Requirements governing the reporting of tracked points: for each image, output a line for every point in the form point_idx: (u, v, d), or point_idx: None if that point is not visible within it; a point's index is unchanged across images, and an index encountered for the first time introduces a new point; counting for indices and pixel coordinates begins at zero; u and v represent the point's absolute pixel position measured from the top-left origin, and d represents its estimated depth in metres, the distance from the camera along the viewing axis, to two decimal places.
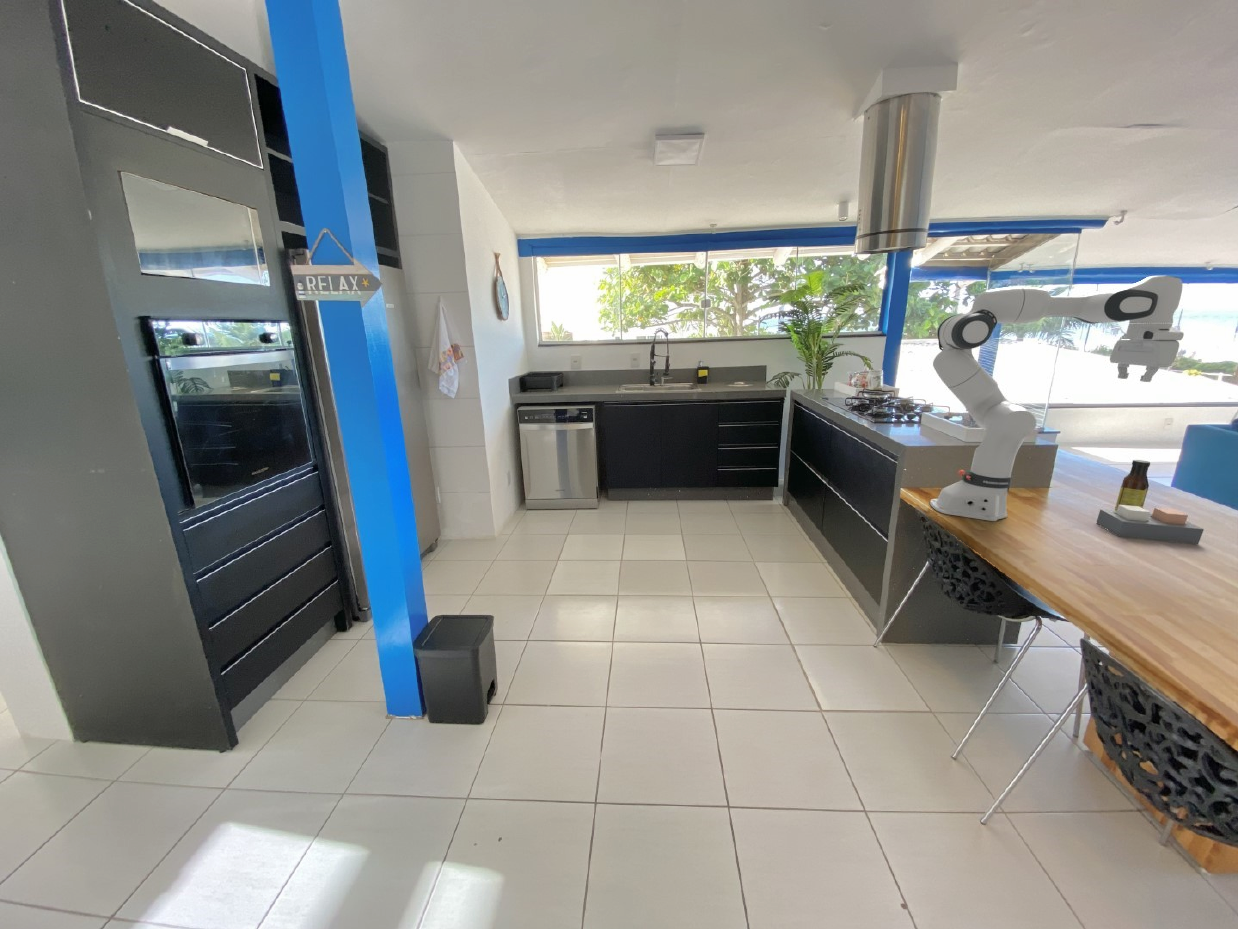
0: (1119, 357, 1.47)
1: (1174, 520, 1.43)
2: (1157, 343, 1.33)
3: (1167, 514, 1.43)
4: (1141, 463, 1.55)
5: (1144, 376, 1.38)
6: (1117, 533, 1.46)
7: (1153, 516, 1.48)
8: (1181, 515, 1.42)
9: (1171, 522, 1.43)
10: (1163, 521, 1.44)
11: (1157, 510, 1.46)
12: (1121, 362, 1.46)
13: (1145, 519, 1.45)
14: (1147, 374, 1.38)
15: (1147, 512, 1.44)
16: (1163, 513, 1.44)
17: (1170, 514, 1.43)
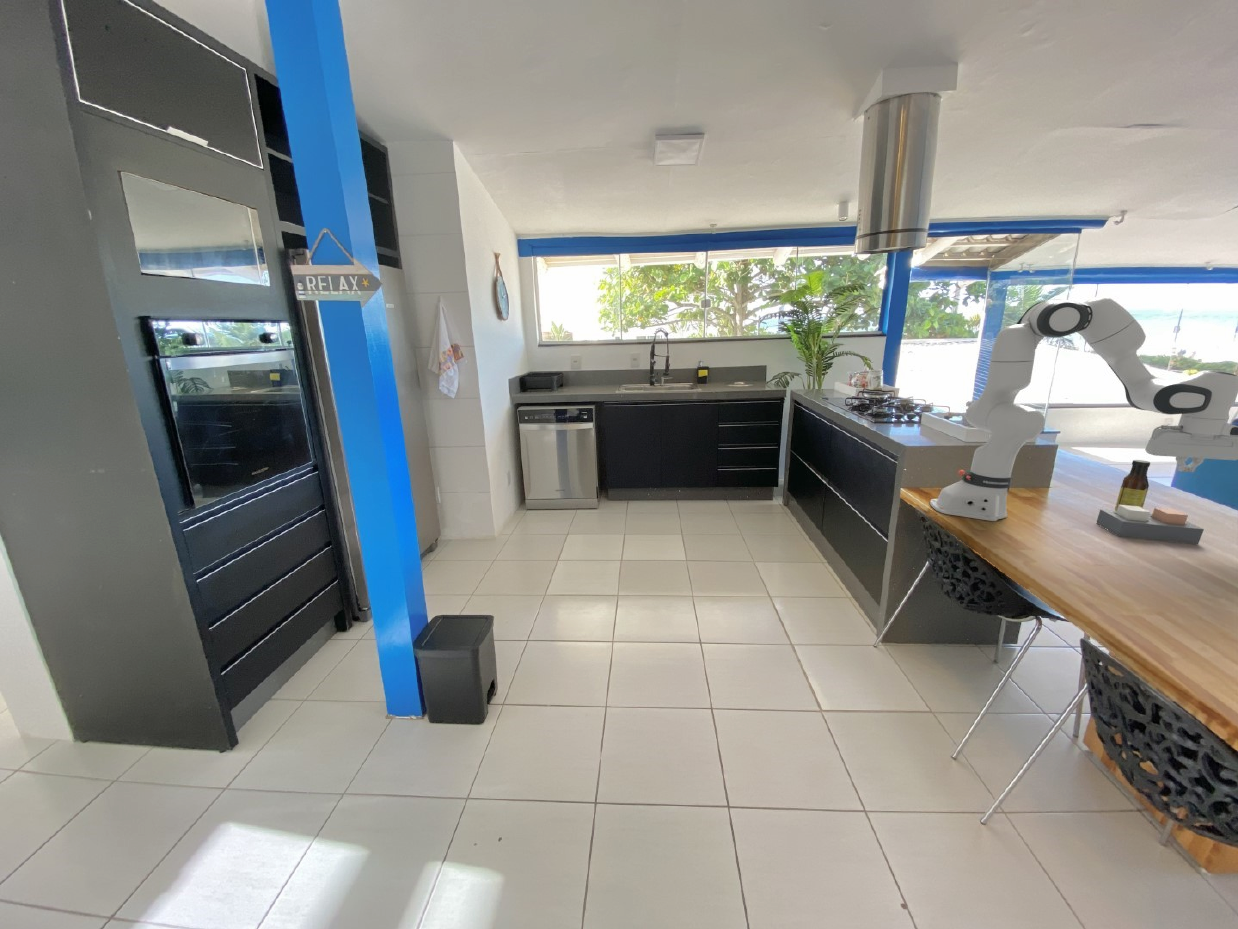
0: (1172, 451, 1.39)
1: (1174, 520, 1.43)
2: None
3: (1167, 514, 1.43)
4: (1141, 463, 1.55)
5: (1194, 467, 1.39)
6: (1117, 533, 1.46)
7: (1153, 516, 1.48)
8: (1181, 515, 1.42)
9: (1171, 522, 1.43)
10: (1163, 521, 1.44)
11: (1157, 510, 1.46)
12: (1177, 455, 1.39)
13: (1145, 519, 1.45)
14: None
15: (1147, 512, 1.44)
16: (1163, 513, 1.44)
17: (1170, 514, 1.43)
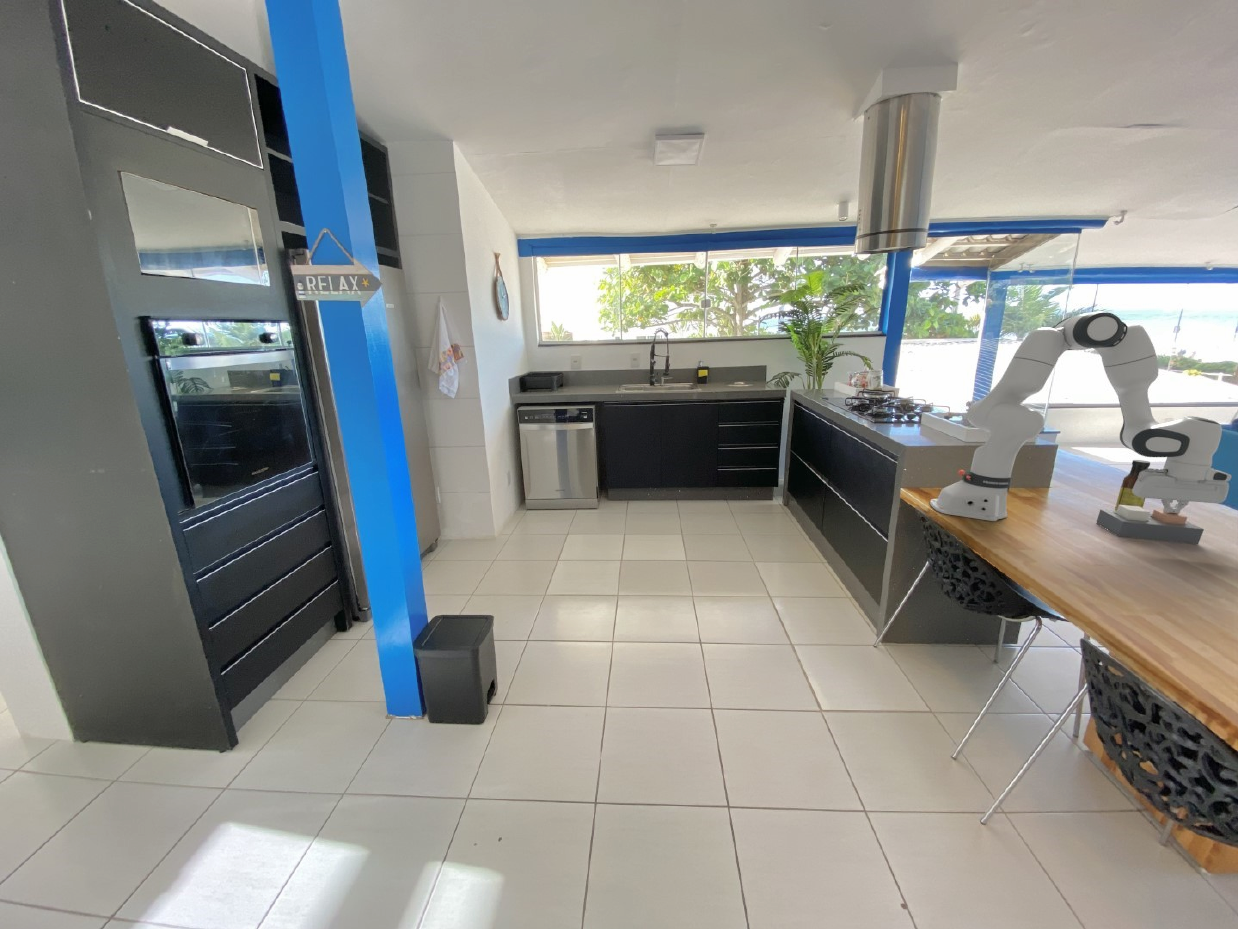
0: (1158, 493, 1.43)
1: (1173, 522, 1.43)
2: (1227, 483, 1.37)
3: (1166, 516, 1.43)
4: (1141, 463, 1.55)
5: (1179, 509, 1.43)
6: (1117, 533, 1.46)
7: None
8: (1180, 517, 1.42)
9: None
10: None
11: (1156, 512, 1.47)
12: (1162, 498, 1.43)
13: (1145, 519, 1.45)
14: None
15: (1147, 512, 1.44)
16: (1162, 515, 1.44)
17: (1169, 516, 1.43)
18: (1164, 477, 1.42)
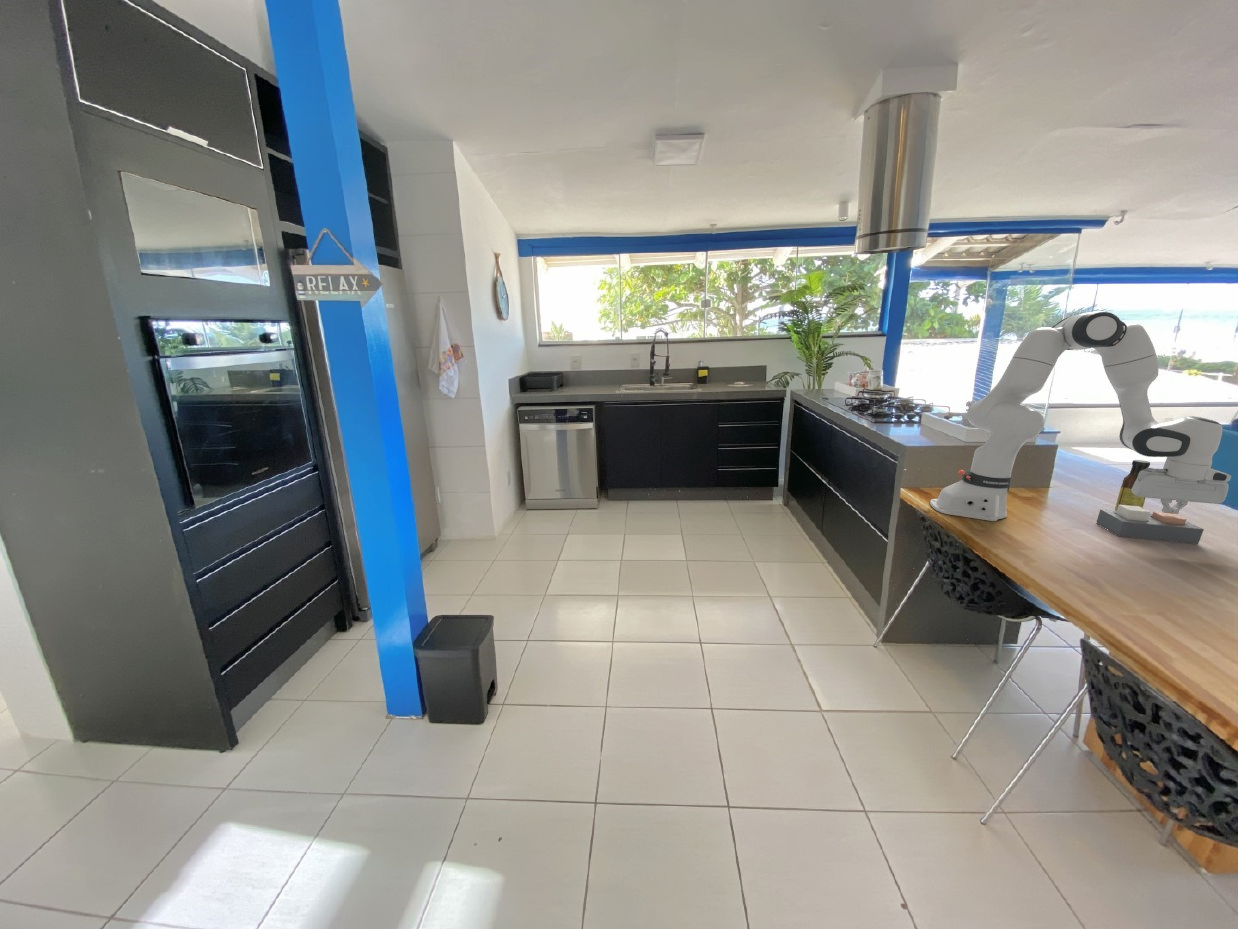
0: (1157, 493, 1.43)
1: None
2: (1227, 484, 1.37)
3: (1166, 518, 1.43)
4: (1141, 463, 1.55)
5: (1178, 509, 1.43)
6: (1117, 533, 1.46)
7: None
8: (1179, 519, 1.42)
9: None
10: None
11: (1155, 514, 1.47)
12: (1161, 498, 1.43)
13: (1145, 519, 1.45)
14: None
15: (1147, 512, 1.44)
16: (1162, 517, 1.45)
17: (1169, 518, 1.43)
18: (1164, 477, 1.41)
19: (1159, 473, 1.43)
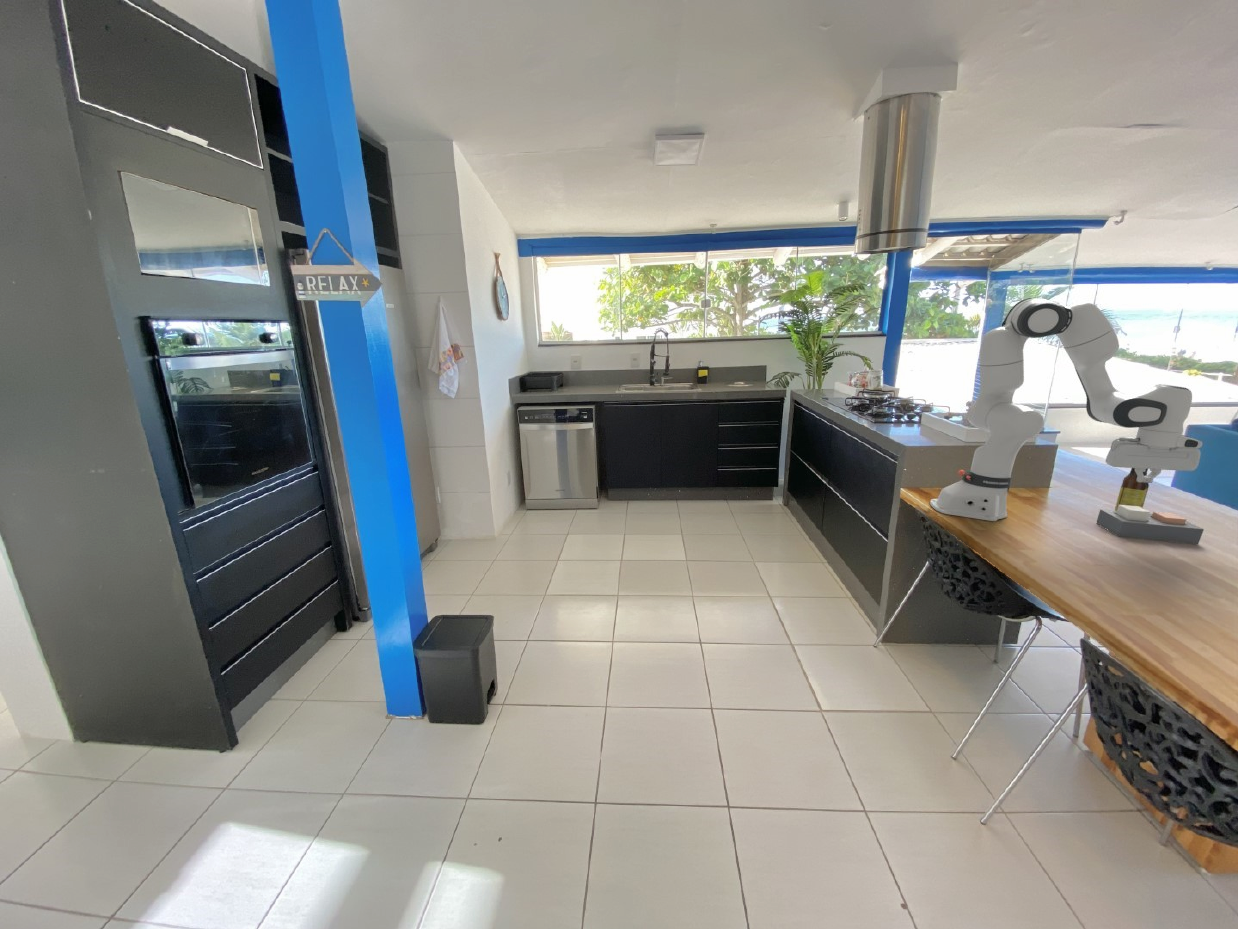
0: (1131, 462, 1.43)
1: None
2: (1199, 450, 1.37)
3: (1166, 518, 1.43)
4: None
5: (1152, 478, 1.43)
6: (1117, 533, 1.46)
7: None
8: (1179, 519, 1.42)
9: None
10: None
11: (1155, 514, 1.47)
12: (1135, 467, 1.43)
13: (1145, 519, 1.45)
14: None
15: (1147, 512, 1.44)
16: (1162, 517, 1.45)
17: (1169, 518, 1.43)
18: (1136, 446, 1.41)
19: (1132, 442, 1.43)
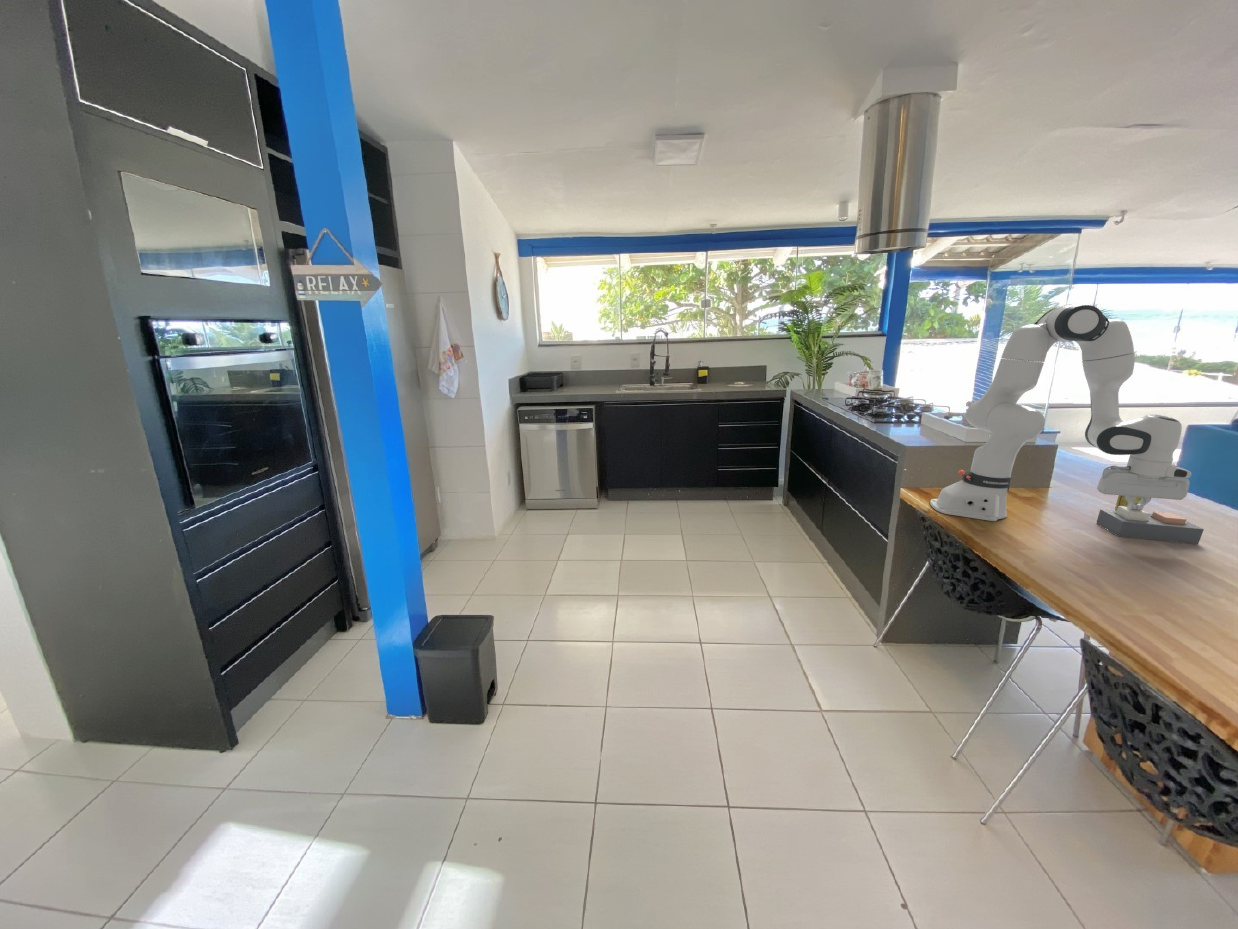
0: (1121, 490, 1.45)
1: None
2: (1188, 480, 1.39)
3: (1166, 518, 1.43)
4: None
5: (1142, 506, 1.46)
6: (1117, 533, 1.46)
7: None
8: (1179, 519, 1.42)
9: None
10: None
11: (1155, 514, 1.47)
12: (1125, 495, 1.46)
13: (1145, 520, 1.45)
14: None
15: (1147, 513, 1.45)
16: (1162, 517, 1.45)
17: (1169, 518, 1.43)
18: (1127, 474, 1.44)
19: (1123, 470, 1.45)
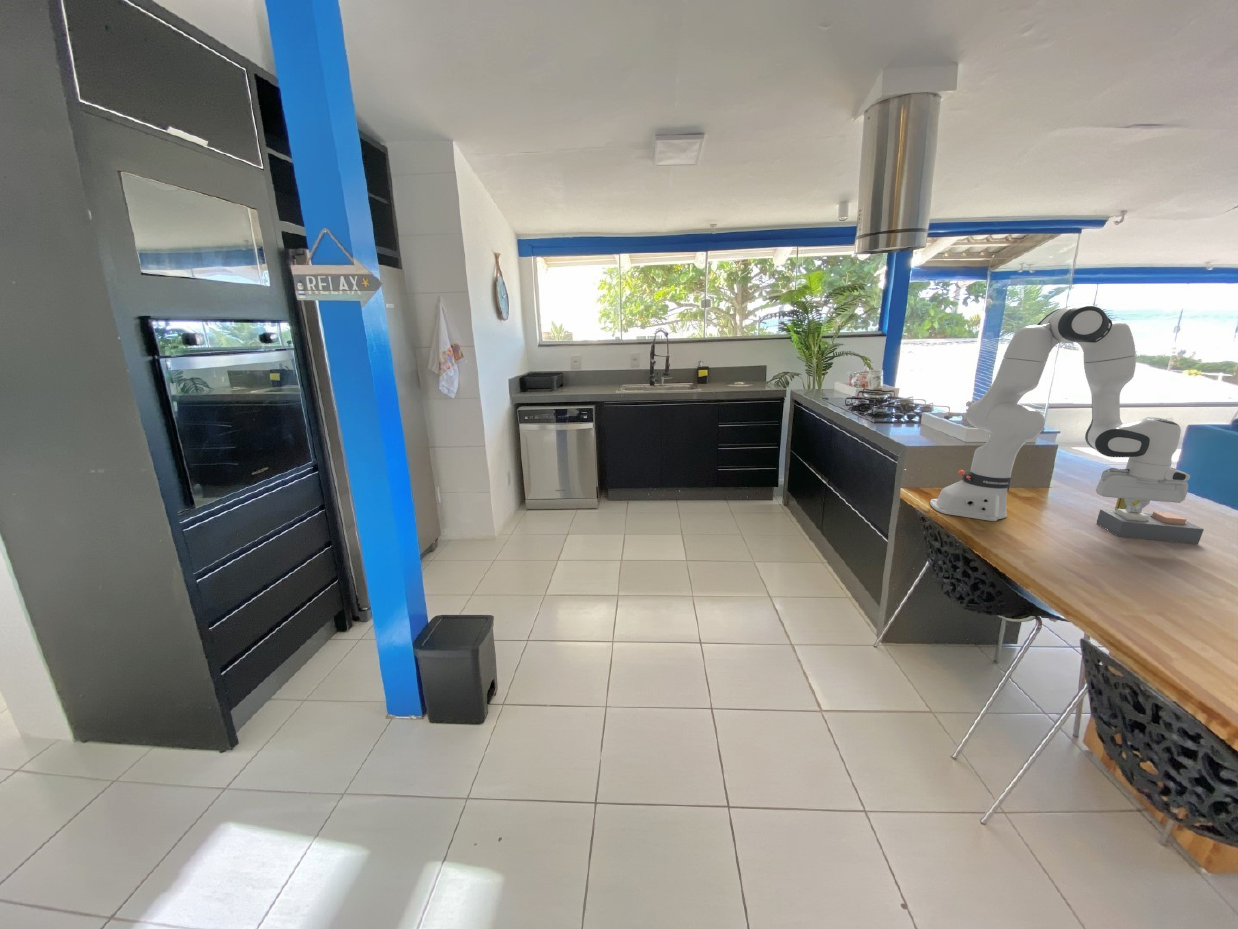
0: (1120, 493, 1.46)
1: None
2: (1187, 483, 1.40)
3: (1166, 518, 1.43)
4: None
5: (1141, 508, 1.46)
6: (1117, 533, 1.46)
7: None
8: (1179, 519, 1.42)
9: None
10: None
11: (1155, 514, 1.47)
12: (1124, 497, 1.46)
13: None
14: None
15: (1146, 516, 1.45)
16: (1162, 517, 1.45)
17: (1169, 518, 1.43)
18: (1126, 477, 1.44)
19: (1121, 473, 1.45)
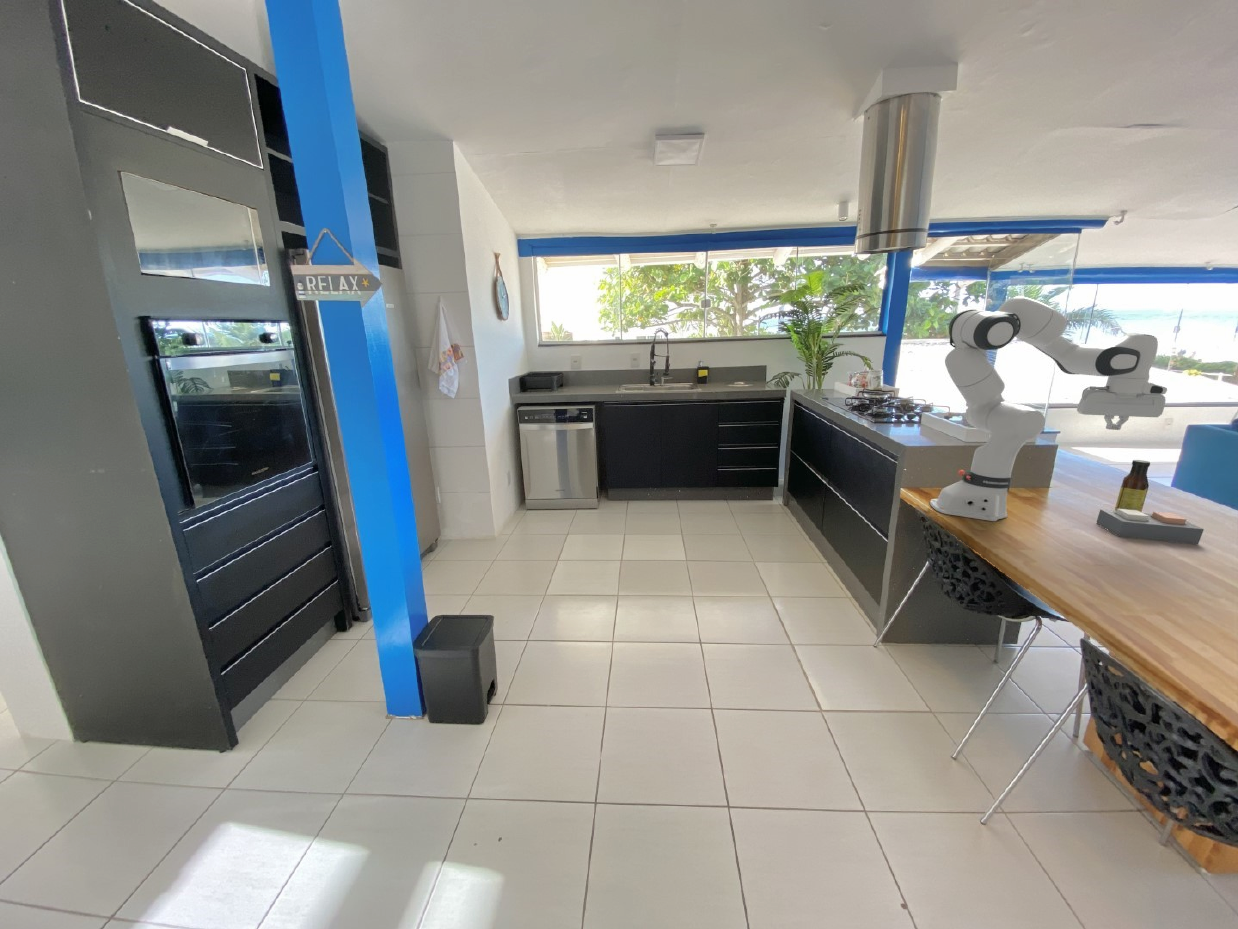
0: (1100, 409, 1.50)
1: None
2: (1164, 396, 1.44)
3: (1166, 518, 1.43)
4: (1141, 463, 1.55)
5: (1120, 425, 1.50)
6: (1117, 533, 1.46)
7: None
8: (1179, 519, 1.42)
9: None
10: None
11: (1155, 514, 1.47)
12: (1104, 414, 1.50)
13: None
14: None
15: (1146, 516, 1.45)
16: (1162, 517, 1.45)
17: (1169, 518, 1.43)
18: (1105, 393, 1.48)
19: (1101, 390, 1.49)
